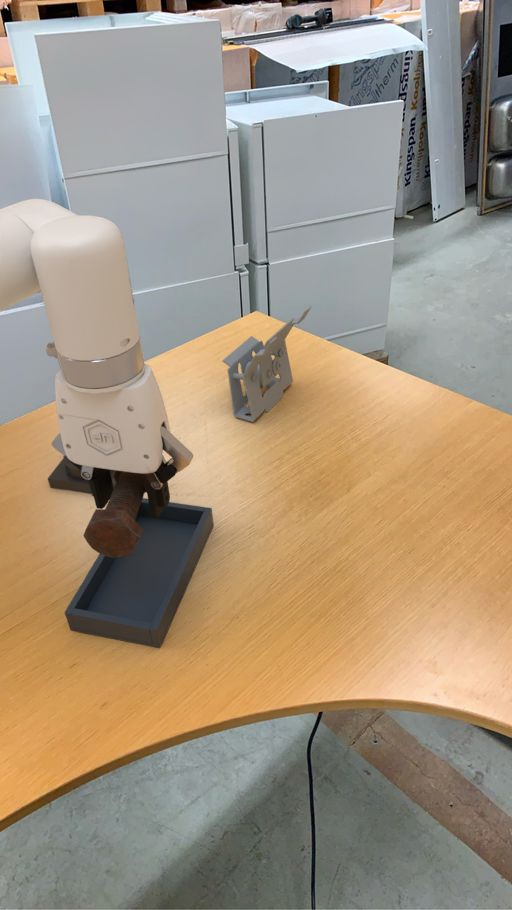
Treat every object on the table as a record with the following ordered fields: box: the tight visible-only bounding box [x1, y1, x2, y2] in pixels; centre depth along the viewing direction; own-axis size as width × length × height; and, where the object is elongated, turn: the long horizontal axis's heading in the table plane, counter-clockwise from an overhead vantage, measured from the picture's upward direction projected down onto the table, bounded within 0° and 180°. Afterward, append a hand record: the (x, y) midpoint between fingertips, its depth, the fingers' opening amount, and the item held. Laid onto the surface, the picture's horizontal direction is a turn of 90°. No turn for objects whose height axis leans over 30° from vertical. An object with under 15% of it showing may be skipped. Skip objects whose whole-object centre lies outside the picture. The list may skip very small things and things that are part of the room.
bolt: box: [83, 470, 150, 557], centre depth 70 cm, size 6×5×15 cm
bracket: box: [222, 305, 313, 423], centre depth 102 cm, size 13×10×15 cm
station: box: [47, 455, 116, 495], centre depth 92 cm, size 9×8×4 cm
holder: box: [64, 497, 214, 649], centre depth 77 cm, size 11×19×3 cm, turn 166°
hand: (132, 503), depth 71 cm, fingers closed on bolt, 5 cm apart
